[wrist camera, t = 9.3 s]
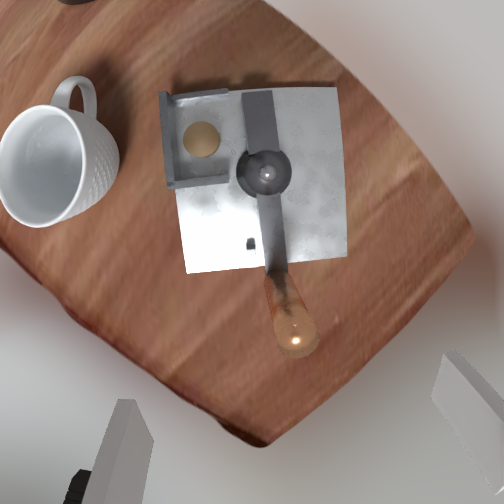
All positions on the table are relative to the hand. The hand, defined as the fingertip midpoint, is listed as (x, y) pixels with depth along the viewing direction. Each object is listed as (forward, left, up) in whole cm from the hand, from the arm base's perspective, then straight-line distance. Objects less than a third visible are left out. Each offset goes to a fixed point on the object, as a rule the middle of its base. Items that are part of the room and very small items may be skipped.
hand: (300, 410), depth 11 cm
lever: (-5, +2, -25) cm, 25 cm away
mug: (-13, -18, -28) cm, 36 cm away
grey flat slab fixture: (-8, +2, -28) cm, 29 cm away
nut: (-12, -5, -26) cm, 29 cm away
